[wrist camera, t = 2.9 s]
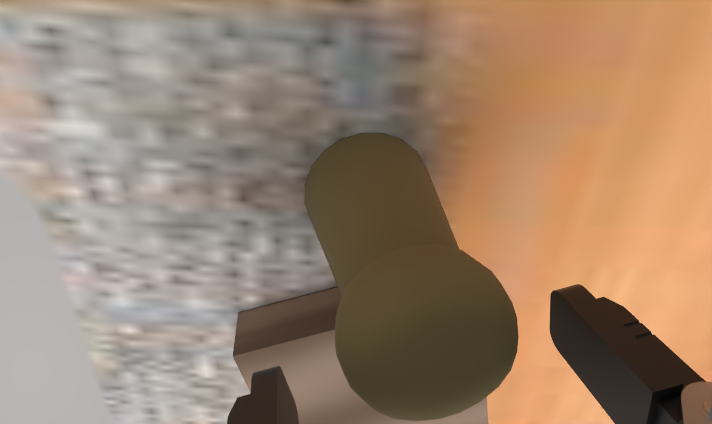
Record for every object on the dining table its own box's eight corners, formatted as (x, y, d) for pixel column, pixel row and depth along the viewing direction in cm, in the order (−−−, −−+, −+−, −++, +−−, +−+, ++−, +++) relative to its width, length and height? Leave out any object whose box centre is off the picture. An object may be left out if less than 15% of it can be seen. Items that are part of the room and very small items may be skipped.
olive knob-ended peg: (294, 240, 21) (306, 457, 12) (316, 121, 18) (355, 275, 9) (409, 252, 22) (504, 454, 13) (445, 143, 20) (597, 296, 10)
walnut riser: (238, 312, 23) (232, 356, 20) (456, 256, 23) (478, 291, 20) (297, 444, 29) (299, 491, 26) (470, 397, 29) (489, 438, 26)
